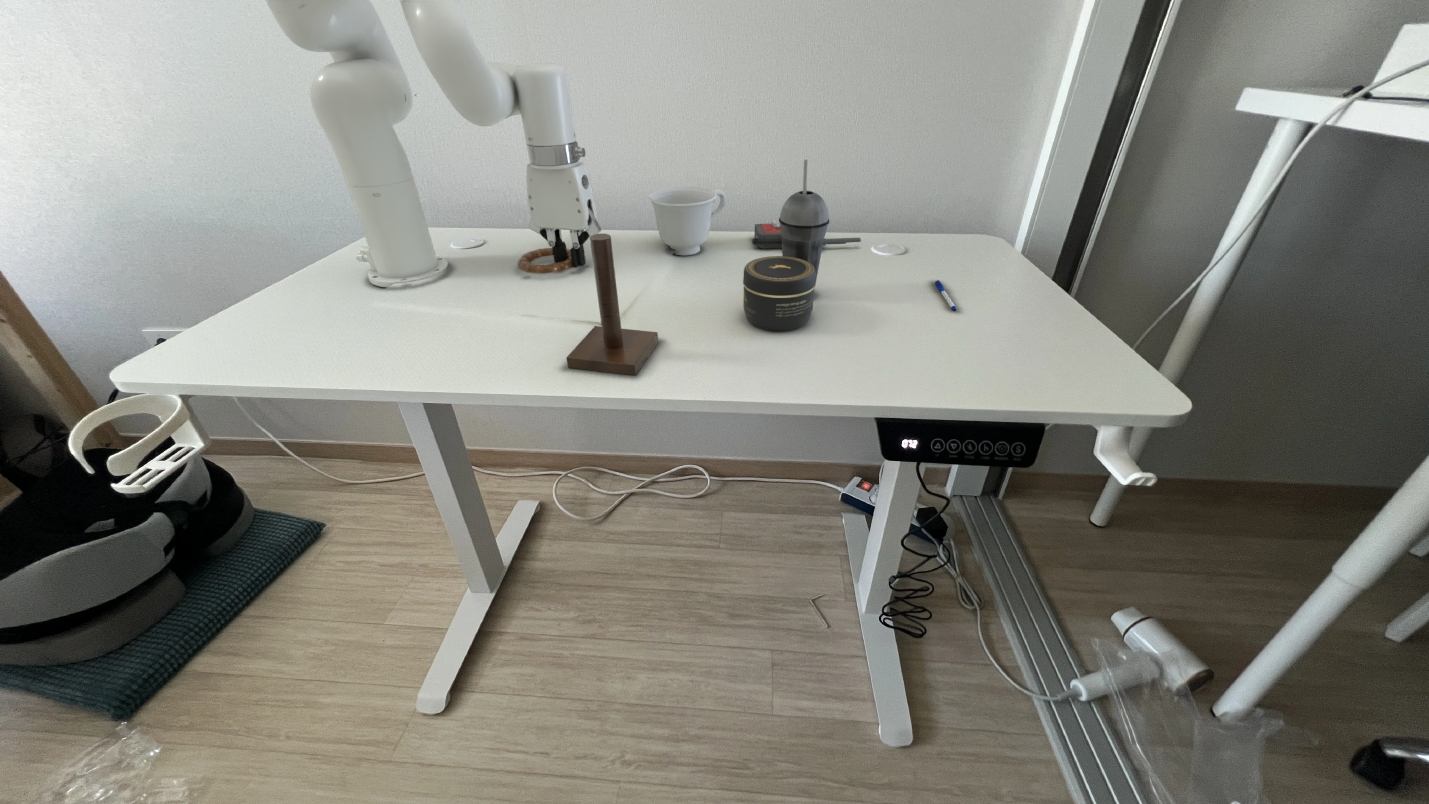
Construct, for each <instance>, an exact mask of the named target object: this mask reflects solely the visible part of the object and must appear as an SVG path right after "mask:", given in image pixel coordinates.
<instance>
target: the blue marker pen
mask: <svg viewBox="0 0 1429 804" xmlns="http://www.w3.org/2000/svg"><path fill="white" fill-rule="evenodd" d="M934 285H935V287H936V288H937V290H938V292H939V293H940V294H941V295H942V297H943V298H944V300H945V301H946V303H947V304H948V306H949V308H950V309H951V310H952V311H953V312H956V311H957V307H956V306H955V304H954V302H953V300H952V299H951V298H950V296H949V295H948V294H947V291H946V289H945V288H944V286H943V285H944V284H943V283H942V282H941V281H940V280H939V279H936V281H934Z"/></svg>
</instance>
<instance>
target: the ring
mask: <svg viewBox="0 0 1429 804" xmlns="http://www.w3.org/2000/svg"><path fill="white" fill-rule="evenodd" d="M566 249H567V255H568V259H566V260H565V261H561V262H558V263H555V262H554V263H546V264H538V263H532V262H533V261H534V260H536V259H539V258H543V257H549V256H550V257H551V256H554V255H553V250H552V247H544V248H538V249H533V250H531V251H527V252H526V253H524V254H523V255H521V256H520V257H519V258H518V260H517V268H518V269H519V270H520V271H523V272H525V273H531V274H549V273H559V272H562V271H566V270H568V269H572V268H574V267H573V266H572V259H571V253H570V249H571V248H570V249H569V248H567V247H566Z"/></svg>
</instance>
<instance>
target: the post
mask: <svg viewBox="0 0 1429 804" xmlns="http://www.w3.org/2000/svg"><path fill="white" fill-rule="evenodd" d="M589 241H590V249H591V258H592V265H593V271H594V278H595V279H594V280H595V287H596V294H597V302H598V309H599V317H600V324H601V326H599V325H595V326H594V327H592V329H591V330H589V332H588V333H587V334H586V335H585V336H584V337H583V338H582V339H581V341H580V342H579V343H578V344H577V345H576V346H575V347H574V348H573V349H572V350H571V352H570V353H569V354H567V356H566V363H567V364H566V365H567V368H569V369H577V370H584V371H592V372H593V371H594V372H601V373H603V372H604V373H610V374H619V375H627V376H637V374H638V373H639V371H640V370H641V368H642V367H643V366H644V364H645V362H646V361H647V360H648V358H649V356H650V355H651V354H652V353H653V351H654V350H655V348H656V346H657V345H658V343H659V332H658V331H651V330H650V331H649V330H639V329H630V328H622V323H621V313H620V304H619V296H618V290H617V289H618V288H617V278H616V270H615V269H616V268H615V261H614V252H613V242H612V236H611V235H610V234H609V233H598V234H595V235H592V236H590V237H589Z"/></svg>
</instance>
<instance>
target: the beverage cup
mask: <svg viewBox="0 0 1429 804" xmlns="http://www.w3.org/2000/svg"><path fill="white" fill-rule="evenodd" d="M808 161H809V160H808V159H804V160H803V176H802V177H803V180H802V181H803V182H802V190H800V191H797V192H795V193H793V194H792V195H790V196H789V197H788V198H787V200H785V202H784V203H783V205H782V207H781V210H780V212H779V213H780V215H779V218H778V223H780V231H781V235H782V248H781V256H787V257H794V258H799V259H802V260H805V261H807V262H809V263H810V264H812V265H813V266H814V268H815V271H816V278H815V282H816V284H817V279H818V274H819V268H820V263H821V262H820V261H821V256H822V250H823V246H824V245H823V240H824V238H825V237H826V234H827V230H828V226H829V224H830V217H829V216H830V215H829V209H828V206H827V203H826V202H825V200H824V199H823V197H821V195H820V194H818V193H817V192H814V191H812V190H807V187H808V186H807V185H808ZM816 284H815V286H816Z"/></svg>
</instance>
